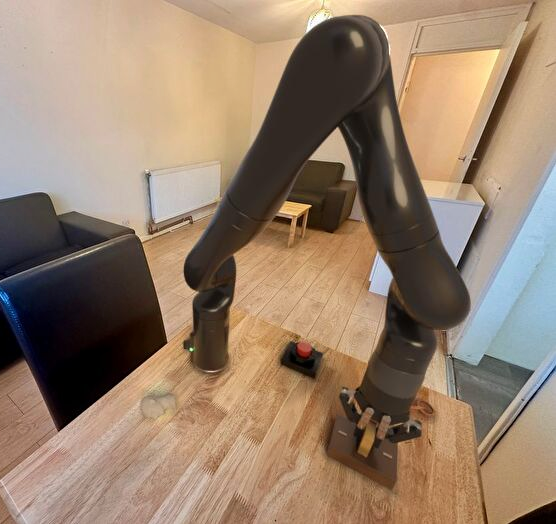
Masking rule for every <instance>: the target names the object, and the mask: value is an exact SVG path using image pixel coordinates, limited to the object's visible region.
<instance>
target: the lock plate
mask: <svg viewBox="0 0 556 524" xmlns="http://www.w3.org/2000/svg"><path fill="white" fill-rule="evenodd" d="M332 427H333V428H332V432H331V436H330V441H329V444H328V449H327V453H326V456H327V457H329V458H331V459H333V460H335V461H336V462H338V463H340V464H342V465H344V466H346V467H347V468H350V469H351V470H353V471H355V472H356V473H359V474H360V475H362V476H364V477H366V478H368V479H370V480H372V481H373V482H375V483H377V484H379V485H381V486H382V487H385V488H386V489H388V490H390V491H393V488H394V487H395V485H396V483H397V482H398V481H397V480H398V448H399V443H395V444H394V443H391V442H390V441H389V439H383V440H382V442H381V444H380V446H379V448H375V447H374V449H370V451H369V453H368V455H367V457H365V456H363V455H361V454H359V453H358V452H357V451H358V447H359V442H358V441H357V440H356V437H355V436H354V430H355V427H356V423H355V422H351V421H349V420H348V418H347V416H344V415H341V414H339V413H337V414H336V417H335V420H334V424H333V426H332Z"/></svg>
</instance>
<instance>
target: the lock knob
mask: <svg viewBox="0 0 556 524" xmlns="http://www.w3.org/2000/svg"><path fill="white" fill-rule="evenodd" d="M376 427H378V423H377V421H375V420H373V419H370V420H369V422H368V424H367V425H366V426H365V431H364V433H363V436H362V438H361V441H360V442H359V447H358V451H357V452H358V453H359V454H361V455H363V456H365V457H367V455H368V453H369V451H370V449H371V446H372V444H373V442H374V438H375V432H376Z"/></svg>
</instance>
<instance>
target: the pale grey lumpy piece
mask: <svg viewBox="0 0 556 524" xmlns="http://www.w3.org/2000/svg"><path fill="white" fill-rule="evenodd" d="M176 408H177V403H176V399H175V396H174V394H173V393H170V392H169V393H167V394H166V395H163V396H162V395H161V396H157V395H155V394H146V395H144V396H143V397H142V398H141V400H140V404H139V409H140V412H141V414H142V415H143V416H144V417H146V418H147V419H154V420H157V419H158V418H159V417H161V416H163V415H164V414H165V412H166V410H172V411H174V410H175V409H176Z"/></svg>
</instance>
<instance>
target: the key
mask: <svg viewBox="0 0 556 524" xmlns="http://www.w3.org/2000/svg"><path fill="white" fill-rule="evenodd" d="M420 403H423V404H425V405H427V406H428V408H430V410H431V413H428V412H426V411H425V410H424V409H425V407H424V406H422V405H420ZM411 410H412V411H413V410H415V411H416V410H419V411H420V412H421V413H422V414H423V415H425V416H427V417H431V418H432V417H434V416H435V414H436V411H435V409H434V408H433V406H432V405H431V404H430V403H429V402H428V401H426V400H423V399H419V400H417V401H416V405H415V404H414V405H413V404H412V406H411V408H410V411H411ZM377 424H379V423H378V422H377Z"/></svg>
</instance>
